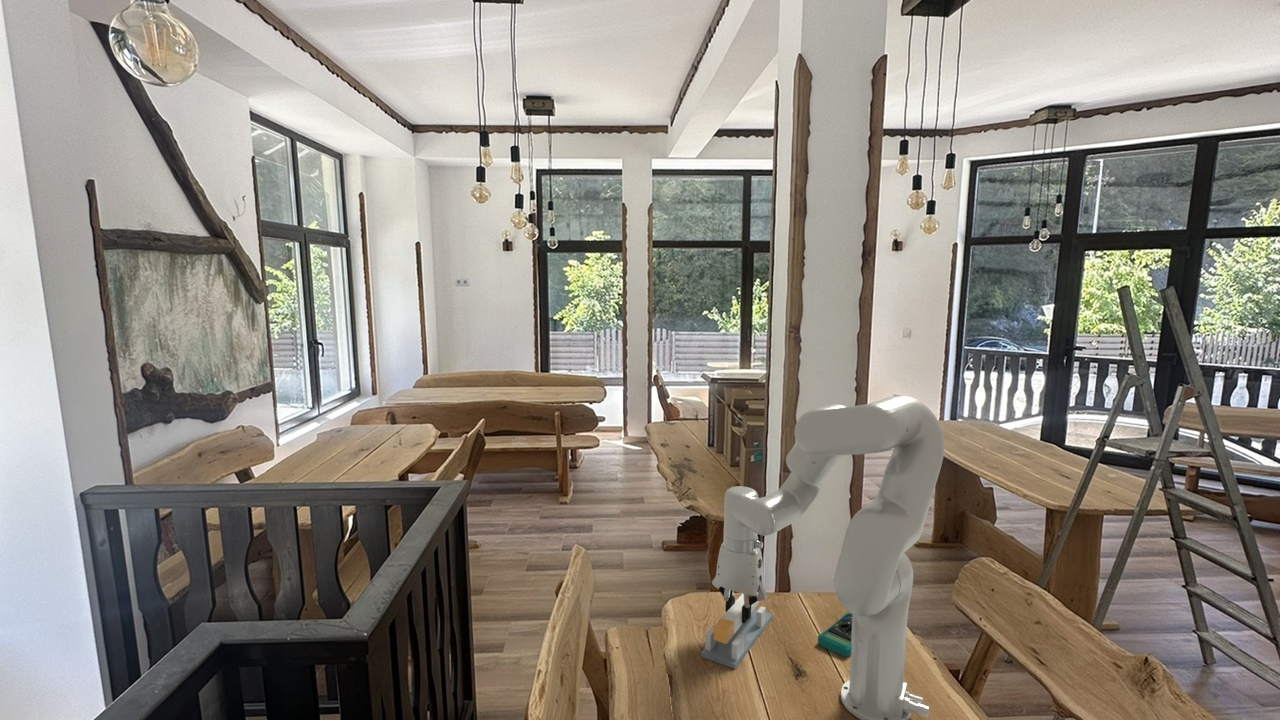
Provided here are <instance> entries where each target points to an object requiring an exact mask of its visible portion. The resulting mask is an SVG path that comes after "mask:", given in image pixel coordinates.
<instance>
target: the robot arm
mask: <svg viewBox="0 0 1280 720" xmlns="http://www.w3.org/2000/svg"><path fill="white" fill-rule="evenodd" d="M794 438H795V441H796V442H795V443H794V445H793V447H792V448H791V449H790V451H789V452H788V454H786V455H787V456H786V457H785V459H786V460H785V461H786V466H787V468H788V469H789V471H790V473H789V475H788V477H787V478H786V480H785V481H784V482H783V484H782V485H781V487H779V489H778V490H777V491H775V492H772V493H770V494H768V495H765V496H763V497H759V494H758V492H757V491H756V490H755V489H753V488H752V487H748V486H743V485H739V486H738V485H737V486H732V487H729V488H727V490H726V491H725V493H724V505H723V506H724V509H723V510H724V511H723V513H724V514H723V542H722V543H721V545H720V548H719V552H718V556H717V564H716V573H715V576H714V578H713V579H712V581H711V584H712V585H713V586H714V587H715V588H716V589H717V590H718V591H719V593H720V594H721V595H722V597H723V600H724V601H725V613H726V612H727V611H728V610H729V609H730V608H731V607H732V606H733V605H734V603H735V601H736V597H735V596H734V592H736V593H740V594H741V595H742V594H744V605H743V606H742V623H744V624H745V623H746V621H747V620H748V619H750V617H751V605H752V604H754V603H755V602H757V601H760V602H762V601H765V600H766V599H767V598H768V595H767V593H766V590H765V587H764V579H765V578H764V564H763V563H764V562H763V556H762V551H761V549H763V548H764V542H762V541H760V540H759V536H764V537H767V536H771V535H773V534H776V533H777V532H779V531H781V530H783V529H784V528H786V527H788V526H790V525H792V524H794V523H795V522H797V521H798V520H799V519H800V518H802V516H803V515H804V514H805V512H806V511H807V510H808V509H809V507H810V506H811V505H812V503H814V502H815V500H816V498H817V497H818V496H819V493H820V491H821V488H822V486H823V481H824V480H825V479H826V477H827V476H828V474H829V473H830V472H831V471H832V469H833V468H834V467H835V466H836V465H837V463H838V462H839V460H840V459H841V458H842V457H843V456H851V455H868V454H869V455H870V454H880V453H884V452H887V451H890V450H892V449H893V450H892V452H891V456H890V458H889V460H888V461H887V464H886V466H885V469H884V472H883V476H882V480H881V482H880V483H881V484H880V486H879V489H878V492H877V495H876V496H875V498H874V499H873V501H871V502H870V503H868V504H867V505H866V506H864V507H862V508H860V509H859V510H858V511H857V512H856V513H854V515H853V516H852V518H851V520H850V521H849V524H848V525H847V528H846V532H845V534H844V538H843V541H842V545H841V547H840V548H841V549H840V551H839V552H840V553H839V555H838V559H837V563H836V566H835V570H834V576H833V587H834V592H835V594H836V598H837V599H838V601H839V603H840V605H842V607H843V608H845V610H846V611H848V613H852V614H853V617H852V637H851V655H850V662H849V663H850V665H849V679H848V680H847V681H845V682H844V683H843V684H842V686H841V687H840V700H841V702H842V704H843V706H844V707H845V709H846V710H847V711H848V712H850V713H851V714H852V715H853V716H855V717H856V718H857V719H859V720H910V718H911V716H912V713H914V714H916V715H919V716H921V717H924V718H929V711H930V709H929V708H930V706H928V705H926V704H924V697H922V696H919V695H915V694H913V693H910V692H911V691H908V690H907V686H908V683H907V682H904V681H905V679H904V677H905V663H906V662H905V661H906V659H905V658H906V642H907V639H906V638H907V627H908V616H909V615H908V613H909V609H910V600H911V595H912V591H913V585H914V570H913V566H912V565H913V564H912V563H911V560H910V559H909V557H908V555H907V554H906V553H905V552H907V551H908V550H909V549H910V548H911V547H912V546H914V545H915V544H916V543H917V542H918V541H919V539H920V538H921V537H922V536H921V535H922V534H923V531H924V526H925V523H926V520H927V519H926V518H927V515H928V513H929V509H930V505H931V502H932V500H933V496H934V492H935V489H936V484H937V482H938V478H939V475H940V473H941V468H942V464H943V461H944V457H945V456H944V455H945V454H944V453H945V439H944V438H945V437H944V433H943V430H942V426H941V424H940V421H939V420H938V418H937V417H936V415H935V414H934V413H933V411H932V410H931V409H930V408H929V407H928V406H927V405H926V404H924V403H923V402H922V401H920V400H918V399H916V398H914V397H911V396H907V395H894V396H889V397H886V398H882V399H880V400H877V401H874V402H870V403H867V404H859V405H852V406H846V405H842V404H839V403H837V404H836V403H831V404H826V405H823V406H820V407H816V408H813V409H809V410H808V411H806V412H804V413H802V415H800V417H799V418H798V419H797V421H796V424H795V426H794ZM758 535H759V536H758ZM757 592H758V594H757Z"/></svg>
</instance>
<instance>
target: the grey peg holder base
mask: <svg viewBox="0 0 1280 720" xmlns="http://www.w3.org/2000/svg"><path fill="white" fill-rule="evenodd" d="M737 600H738V598H735V602H736V601H737ZM773 616H774V615H773V613H771V612H768V611H767V607H766V606H762V605H761V606H760V607H759V608H758V609H757V608H755V609H754V610H753V611H752V612H751V617H750V619H748V620H747V621H746V623H745V624H744V623H743V624H742V625H741V626H740V628H739V629H738V630H737V631H736V633H735V634H734V635H733V636H732V638H731V639H730V640H729V641H728V643H727V644H725V643H722V642H719V641H716V640H714V626H715V625H712V626H711V627H710V628H709V630H707V632H706V633H705V642H704V644H705V645H704V648H703V649H702V651H701V652H700V657H701V658H704V659H707V660H709V661H712V662H715V663H718V664H720V665H722V666H726V667H729V668H731V669H734V670H736V669H737V667H738V666H739V665H740V663H741V662H742V660H743V659H744V658H745V656H746V655H747V654H748V653H749V650H751V648H752V647H753V646H754V644H755V642H756V641H757V640H758V638H759V637H760V636H761V635H762V633H763V632H764V630H765V629H766V627H767V626H768V625H769V623H770V622H771V621H772V619H773Z"/></svg>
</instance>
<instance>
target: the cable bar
mask: <svg viewBox="0 0 1280 720" xmlns="http://www.w3.org/2000/svg"><path fill="white" fill-rule="evenodd" d="M757 594H758V592H757ZM737 599H738V600H737V601H736V600H735V601H736V602H735V603H734V605H733V606H732V607H731V608H730V609H729V610H728V611H727V612H726V611H725V613H724V614H723V616H722V617H721V618H720V619H719V620H718V621H717V622H716V624H715V625H713V626H714V640H716V641H719V642H722V643H725V644H727V643H728V641H729V640H730V639H731V638H732V636H733V635H734V634H735V633H736V631H737V630H738V629H739V628H740V626H741V625H742V624H743V623H742V606H743V605H744V594H742V593H741V595H740V596H739V597H738V598H737ZM760 602H761V601H757V602H755V603H754V604H752V605H751V612H752V611H753V610H754V609H756V607H757V606H758V605H759V603H760Z"/></svg>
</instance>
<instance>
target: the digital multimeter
mask: <svg viewBox="0 0 1280 720" xmlns="http://www.w3.org/2000/svg"><path fill="white" fill-rule="evenodd" d="M852 617H853V613H851V612H846V613H844V614H843V615H842V616H841V618H839V619H838V620H837V621H835V623H833V624H832V625H831V626H829V627H828V628H827V629H825V630H824V631H823V632H821V633H820V634H818V635H817V644H818V645H820V647H823V648H825V649H827V650H828V651H831V652H833V653H835V654H837V655H840V656H842V657H845V658H849V657H851V637H852Z"/></svg>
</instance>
